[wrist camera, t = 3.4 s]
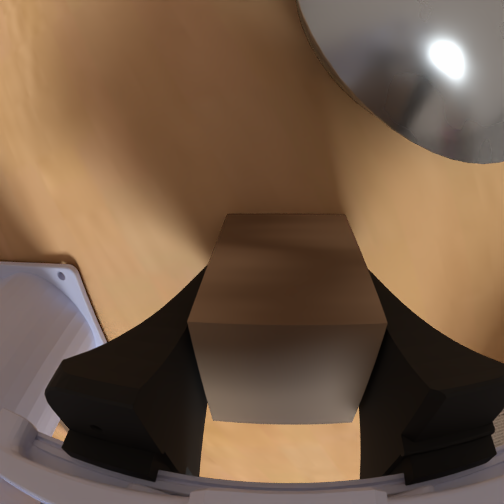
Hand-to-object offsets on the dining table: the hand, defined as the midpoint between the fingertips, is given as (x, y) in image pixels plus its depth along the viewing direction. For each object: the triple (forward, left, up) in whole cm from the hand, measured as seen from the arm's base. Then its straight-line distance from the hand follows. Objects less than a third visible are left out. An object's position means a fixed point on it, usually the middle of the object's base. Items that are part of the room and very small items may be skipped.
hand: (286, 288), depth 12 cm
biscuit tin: (+5, +10, -2) cm, 12 cm away
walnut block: (0, 0, -2) cm, 2 cm away
